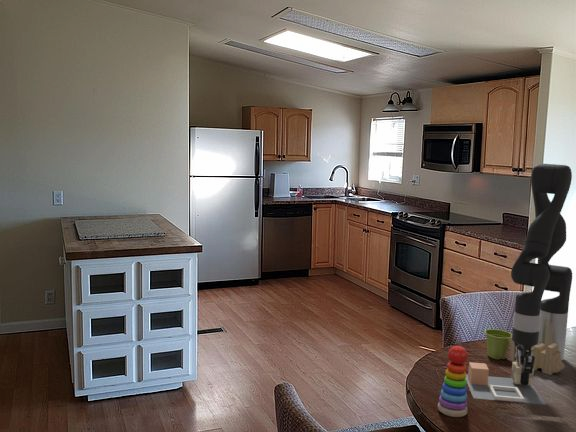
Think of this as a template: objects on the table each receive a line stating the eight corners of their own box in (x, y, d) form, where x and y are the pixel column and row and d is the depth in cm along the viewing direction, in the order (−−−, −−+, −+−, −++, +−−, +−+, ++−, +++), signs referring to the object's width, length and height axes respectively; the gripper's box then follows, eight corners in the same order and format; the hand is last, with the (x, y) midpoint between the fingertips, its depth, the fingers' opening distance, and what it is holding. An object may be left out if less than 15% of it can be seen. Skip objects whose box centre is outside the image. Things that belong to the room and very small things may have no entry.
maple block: (511, 377, 174) (512, 361, 173) (528, 378, 173) (529, 363, 173) (515, 383, 169) (516, 367, 169) (532, 385, 168) (533, 369, 168)
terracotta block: (467, 377, 176) (469, 362, 175) (484, 378, 175) (485, 363, 175) (470, 383, 171) (471, 368, 170) (487, 385, 170) (488, 369, 170)
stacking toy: (451, 420, 149) (456, 353, 147) (431, 408, 156) (435, 343, 154) (473, 415, 152) (478, 349, 150) (452, 403, 159) (456, 339, 157)
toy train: (557, 380, 179) (560, 350, 178) (505, 364, 191) (508, 336, 190) (563, 375, 183) (566, 346, 182) (512, 360, 195) (515, 333, 194)
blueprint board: (463, 377, 179) (463, 371, 178) (528, 382, 176) (529, 376, 175) (473, 401, 161) (473, 394, 161) (546, 408, 158) (546, 401, 158)
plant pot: (513, 355, 200) (515, 332, 199) (507, 363, 192) (509, 339, 191) (486, 350, 204) (488, 327, 204) (480, 357, 197) (481, 333, 196)
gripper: (546, 335, 162) (541, 391, 164) (532, 320, 176) (528, 372, 178) (519, 333, 163) (514, 389, 165) (507, 319, 177) (503, 370, 179)
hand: (521, 380), depth 171 cm, fingers closed on maple block, 5 cm apart
